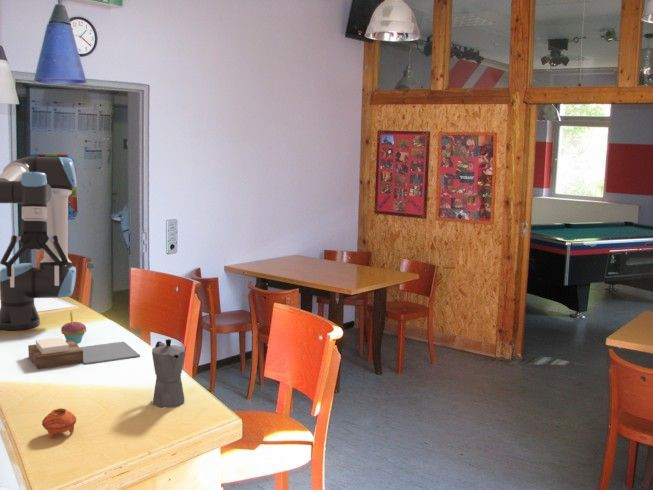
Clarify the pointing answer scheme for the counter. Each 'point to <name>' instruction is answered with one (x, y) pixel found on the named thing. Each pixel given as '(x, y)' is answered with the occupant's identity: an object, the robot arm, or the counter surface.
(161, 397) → the coffeepot
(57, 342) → the cream rectangular block
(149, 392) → the counter surface
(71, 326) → the cupcake
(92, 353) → the mat
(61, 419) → the pot
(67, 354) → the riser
